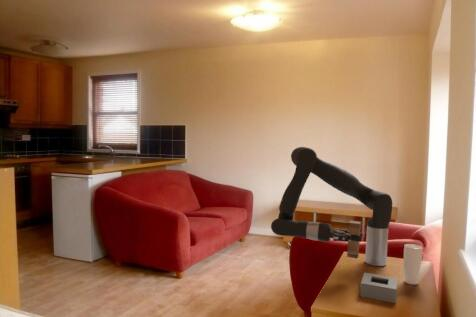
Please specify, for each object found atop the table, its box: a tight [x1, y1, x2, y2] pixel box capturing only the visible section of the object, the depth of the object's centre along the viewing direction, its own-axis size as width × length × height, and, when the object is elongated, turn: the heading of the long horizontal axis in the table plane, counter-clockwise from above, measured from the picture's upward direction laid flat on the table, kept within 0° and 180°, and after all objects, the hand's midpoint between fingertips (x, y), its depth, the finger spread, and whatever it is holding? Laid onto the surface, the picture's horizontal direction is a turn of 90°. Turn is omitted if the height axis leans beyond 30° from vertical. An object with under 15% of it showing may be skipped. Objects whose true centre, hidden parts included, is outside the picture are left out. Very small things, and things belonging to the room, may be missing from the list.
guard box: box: [359, 272, 398, 304], centre depth 143 cm, size 12×12×5 cm
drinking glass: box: [403, 243, 423, 286], centre depth 155 cm, size 7×7×15 cm
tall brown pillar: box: [346, 220, 362, 259], centre depth 155 cm, size 4×4×14 cm
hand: (361, 237), depth 154 cm, fingers closed on tall brown pillar, 4 cm apart
